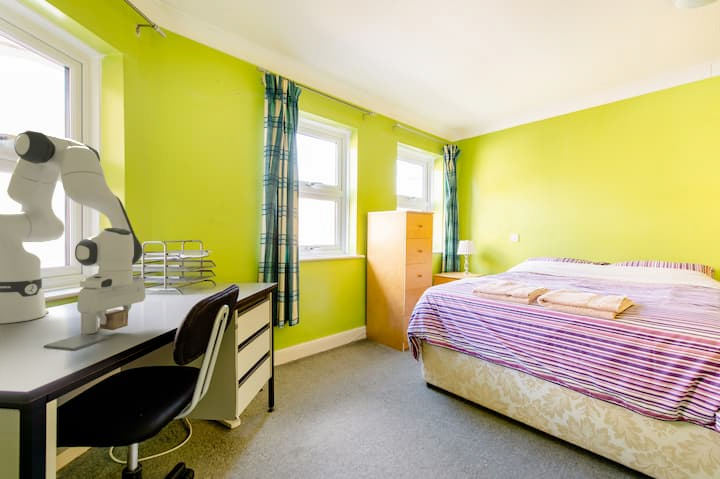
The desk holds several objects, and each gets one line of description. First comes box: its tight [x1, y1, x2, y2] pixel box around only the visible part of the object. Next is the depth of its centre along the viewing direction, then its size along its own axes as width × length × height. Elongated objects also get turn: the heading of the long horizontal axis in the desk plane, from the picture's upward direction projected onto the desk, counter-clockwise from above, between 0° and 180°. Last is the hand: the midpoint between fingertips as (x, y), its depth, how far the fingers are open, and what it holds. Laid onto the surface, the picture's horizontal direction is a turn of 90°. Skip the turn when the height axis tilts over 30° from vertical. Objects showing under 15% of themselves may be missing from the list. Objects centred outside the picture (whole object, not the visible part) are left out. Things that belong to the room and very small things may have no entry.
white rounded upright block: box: [80, 313, 99, 335], centre depth 101 cm, size 10×4×12 cm, turn 39°
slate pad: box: [43, 333, 110, 351], centre depth 90 cm, size 10×10×1 cm
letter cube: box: [99, 308, 129, 331], centre depth 98 cm, size 5×5×5 cm
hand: (114, 321), depth 98 cm, fingers closed on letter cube, 5 cm apart
